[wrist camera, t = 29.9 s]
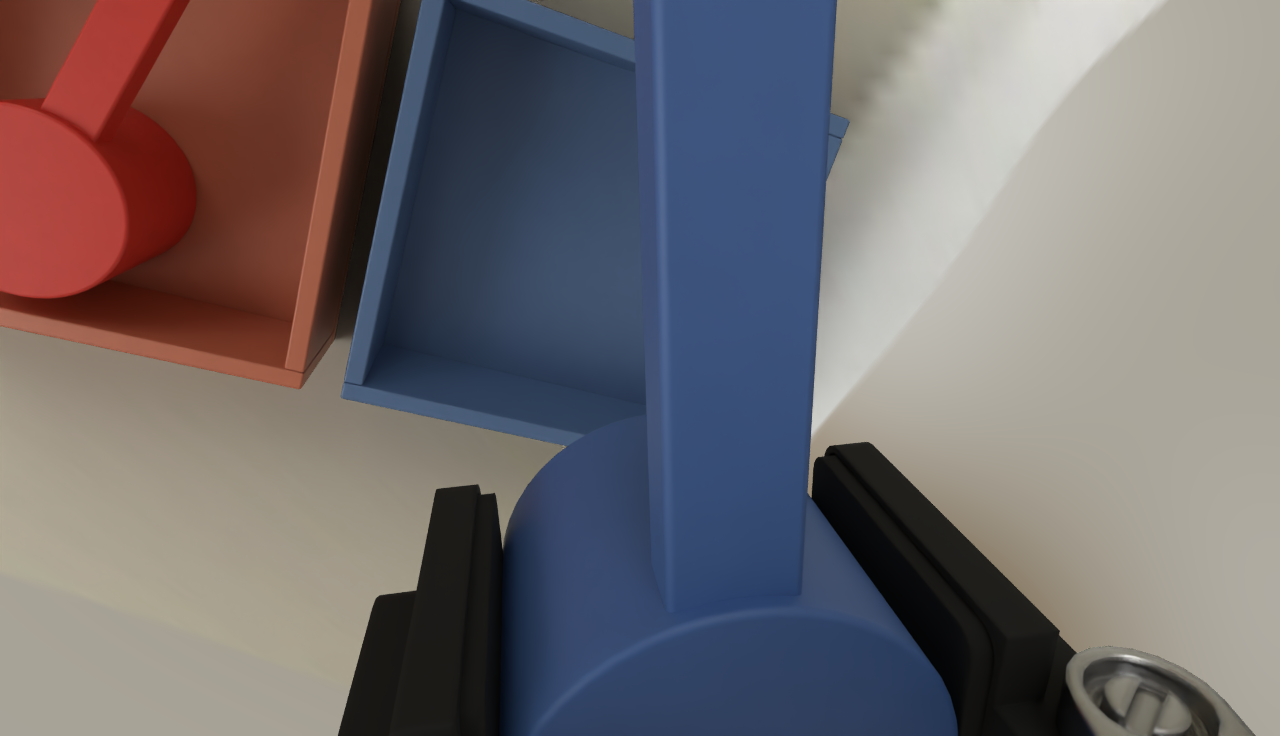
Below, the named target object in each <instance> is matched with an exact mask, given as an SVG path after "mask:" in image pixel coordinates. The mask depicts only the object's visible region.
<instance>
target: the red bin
mask: <svg viewBox="0 0 1280 736" xmlns="http://www.w3.org/2000/svg"><path fill="white" fill-rule="evenodd" d="M96 2H97V0H0V100H9V99H36V98H46V96H47V94H48V92H49V90H50V88H51V86H52V84H53V83H54V81H55V79H56V77H57V75H58V73H59V71H60V69H61V68H62V66H63V64H64V62H65V60H66V58H67V56H68V54H69V53H70V51H71V49H72V47H73V45H74V43H75V41H76V40H77V38H78V36H79V34H80V32H81V30H82V28H83V26H84V25H85V23H86V21H87V19H88V17H89V15H90V13H91V11H92V10H93V8H94V6H95V4H96ZM400 2H401V0H190V2H189V3H188V5H187V7H186V9H185V10H184V12H183V14H182V16H181V17H180V19H179V21H178V23H177V25H176V26H175V28H174V30H173V32H172V33H171V35H170V37H169V39H168V41H167V42H166V44H165V46H164V48H163V49H162V51H161V53H160V55H159V57H158V58H157V60H156V62H155V64H154V65H153V67H152V69H151V71H150V73H149V74H148V76H147V78H146V80H145V81H144V83H143V85H142V87H141V88H140V90H139V92H138V94H137V96H136V97H135V99H134V101H133V103H132V104H131V106H130V107H132V108H134V109H136V110H138V111H139V112H141V113H143V114H145V115H146V116H148V117H149V118H151V119H152V120H153V121H155V122H156V123H157V124H158V125H160V126H161V127H162V128H163V129H164V130H165V131H166V132H167V133H168V134H169V135H170V136H171V137H172V138H173V139H174V141H175V142H176V143H177V145H178V146H179V147H180V149H181V150H182V152H183V154H184V155H185V157H186V159H187V161H188V163H189V165H190V168H191V170H192V173H193V177H194V181H195V186H196V208H195V213H194V217H193V220H192V222H191V224H190V226H189V228H188V230H187V232H186V233H185V235H184V236H183V237H182V239H181V240H180V241H179V242H178V243H177V244H176V245H174V246H173V247H172V248H170V249H169V250H167V251H166V252H164V253H162V254H160V255H158V256H156V257H154V258H152V259H150V260H148V261H146V262H144V263H142V264H140V265H138V266H136V267H134V268H132V269H129V270H127V271H125V272H123V273H121V274H119V275H117V276H115V277H113V278H111V279H109V280H107V281H105V282H103V283H101V284H99V285H97V286H95V287H93V288H91V289H89V290H87V291H84V292H81V293H79V294H76V295H72V296H67V297H62V298H50V299H47V298H30V297H23V296H18V295H14V294H9V293H5V292H2V291H0V326H3V327H8V328H12V329H17V330H22V331H27V332H31V333H36V334H41V335H45V336H50V337H55V338H60V339H64V340H69V341H74V342H78V343H83V344H88V345H93V346H97V347H102V348H107V349H112V350H116V351H121V352H126V353H130V354H135V355H140V356H145V357H149V358H154V359H159V360H163V361H168V362H173V363H178V364H182V365H187V366H192V367H196V368H201V369H206V370H211V371H215V372H220V373H225V374H229V375H234V376H239V377H244V378H248V379H253V380H258V381H262V382H267V383H272V384H277V385H281V386H286V387H291V388H295V389H301V388H302V386H303V385H304V383H305V382H306V381H307V379H308V378H309V376H310V375H311V373H312V372H313V370H314V369H315V367H316V366H317V364H318V363H319V361H320V360H321V359H322V357H323V356H324V354H325V353H326V351H327V350H328V348H329V347H330V345H331V344H332V343H333V341H334V339H335V333H336V328H337V323H338V318H339V313H340V308H341V303H342V298H343V293H344V288H345V282H346V277H347V272H348V267H349V262H350V257H351V252H352V247H353V242H354V236H355V231H356V226H357V221H358V216H359V211H360V206H361V201H362V196H363V191H364V185H365V180H366V175H367V170H368V165H369V160H370V155H371V150H372V145H373V140H374V134H375V129H376V124H377V119H378V114H379V109H380V104H381V99H382V94H383V89H384V83H385V78H386V73H387V68H388V63H389V58H390V53H391V48H392V43H393V38H394V32H395V27H396V22H397V17H398V12H399V7H400Z"/></svg>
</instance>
